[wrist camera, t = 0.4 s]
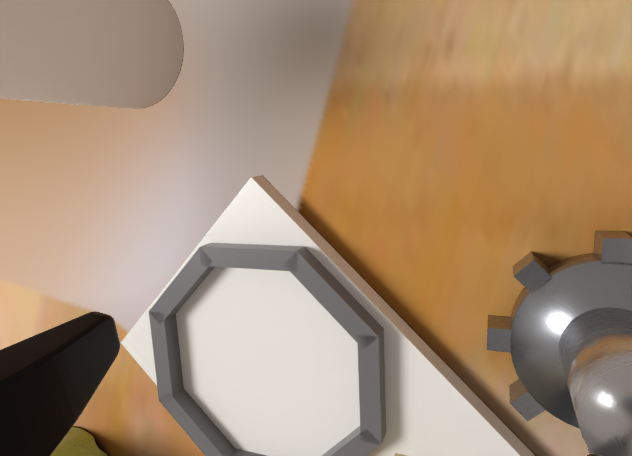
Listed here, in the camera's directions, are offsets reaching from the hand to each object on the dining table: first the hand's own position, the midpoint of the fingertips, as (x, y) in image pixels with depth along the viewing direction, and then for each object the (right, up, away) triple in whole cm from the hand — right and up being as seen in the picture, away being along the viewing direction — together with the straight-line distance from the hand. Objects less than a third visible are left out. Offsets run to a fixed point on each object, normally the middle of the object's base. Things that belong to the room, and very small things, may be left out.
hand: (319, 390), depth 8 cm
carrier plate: (0, -7, +16) cm, 18 cm away
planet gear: (+12, -2, +11) cm, 16 cm away
